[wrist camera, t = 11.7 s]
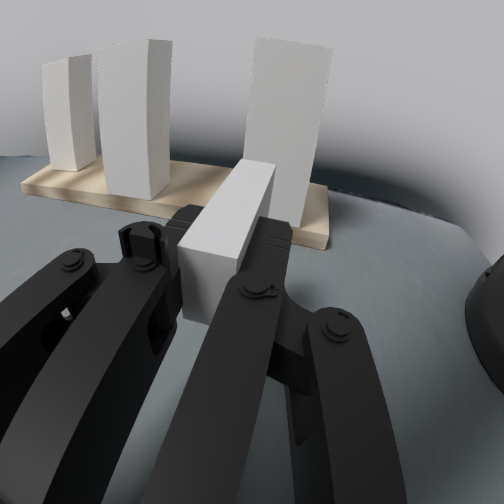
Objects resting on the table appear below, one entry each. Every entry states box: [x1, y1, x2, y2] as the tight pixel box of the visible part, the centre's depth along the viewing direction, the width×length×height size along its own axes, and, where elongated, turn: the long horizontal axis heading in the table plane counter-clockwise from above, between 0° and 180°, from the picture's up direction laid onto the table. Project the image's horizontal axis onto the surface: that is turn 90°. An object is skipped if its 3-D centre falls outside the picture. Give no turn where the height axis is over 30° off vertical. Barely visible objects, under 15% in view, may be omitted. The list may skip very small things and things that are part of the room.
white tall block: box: [98, 40, 172, 201], centre depth 22 cm, size 5×4×14 cm
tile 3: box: [42, 54, 97, 172], centre depth 27 cm, size 5×4×14 cm
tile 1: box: [243, 38, 332, 228], centre depth 21 cm, size 5×4×14 cm
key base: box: [21, 154, 329, 250], centre depth 29 cm, size 36×10×2 cm, turn 78°
